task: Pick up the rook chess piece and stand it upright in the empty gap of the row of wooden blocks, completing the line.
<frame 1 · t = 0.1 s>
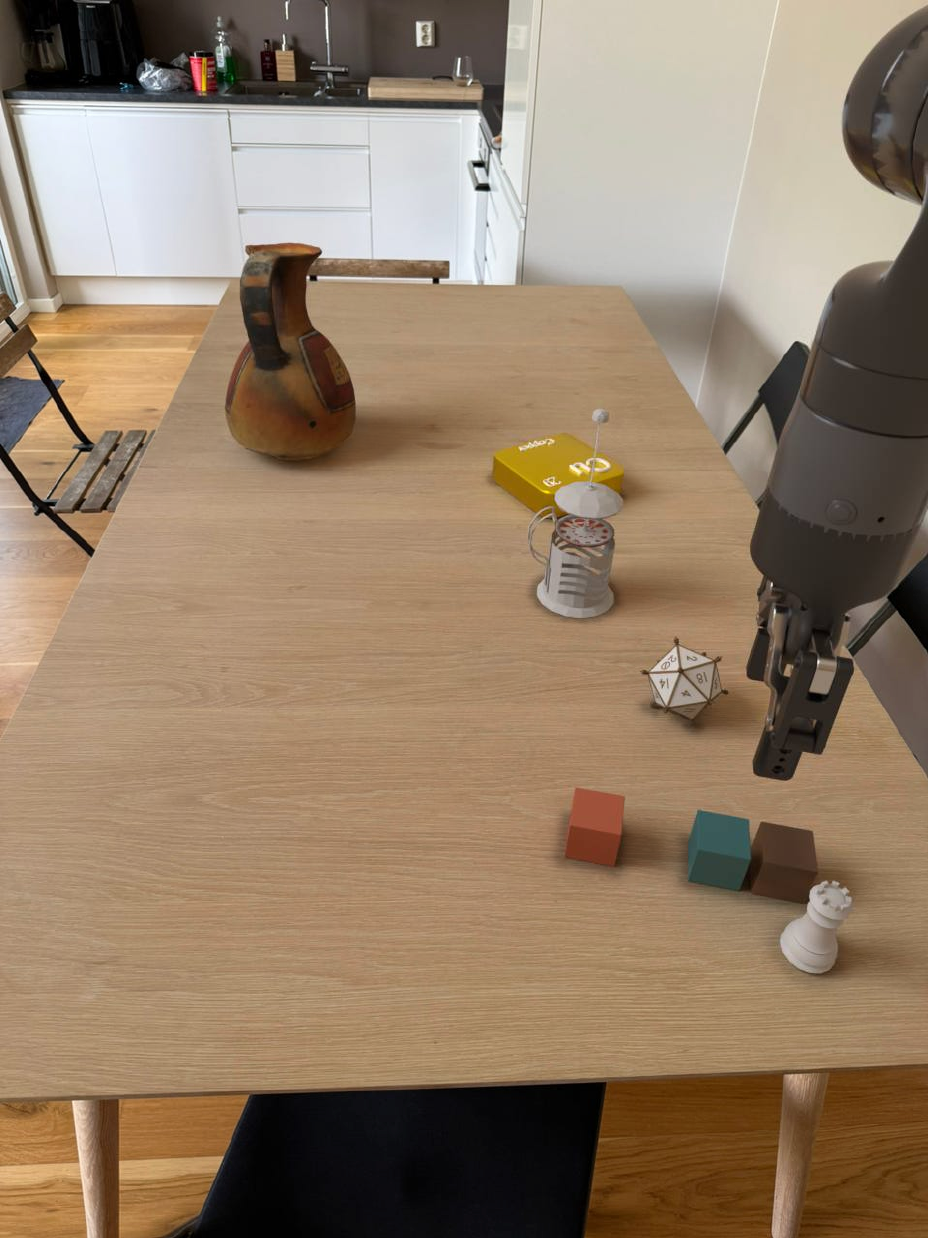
hand: (766, 723, 54), 28 cm above the table, tool pointing down, fingers open, 8 cm apart
french press: (568, 595, 112), on the table
element tile: (555, 487, 134), on the table
ceramic pitcher: (295, 445, 141), on the table
game die: (677, 711, 96), on the table
walnut block: (775, 877, 79), on the table
rook chess piece: (805, 953, 74), on the table
terracotta block: (591, 842, 82), on the table
teal block: (713, 865, 80), on the table
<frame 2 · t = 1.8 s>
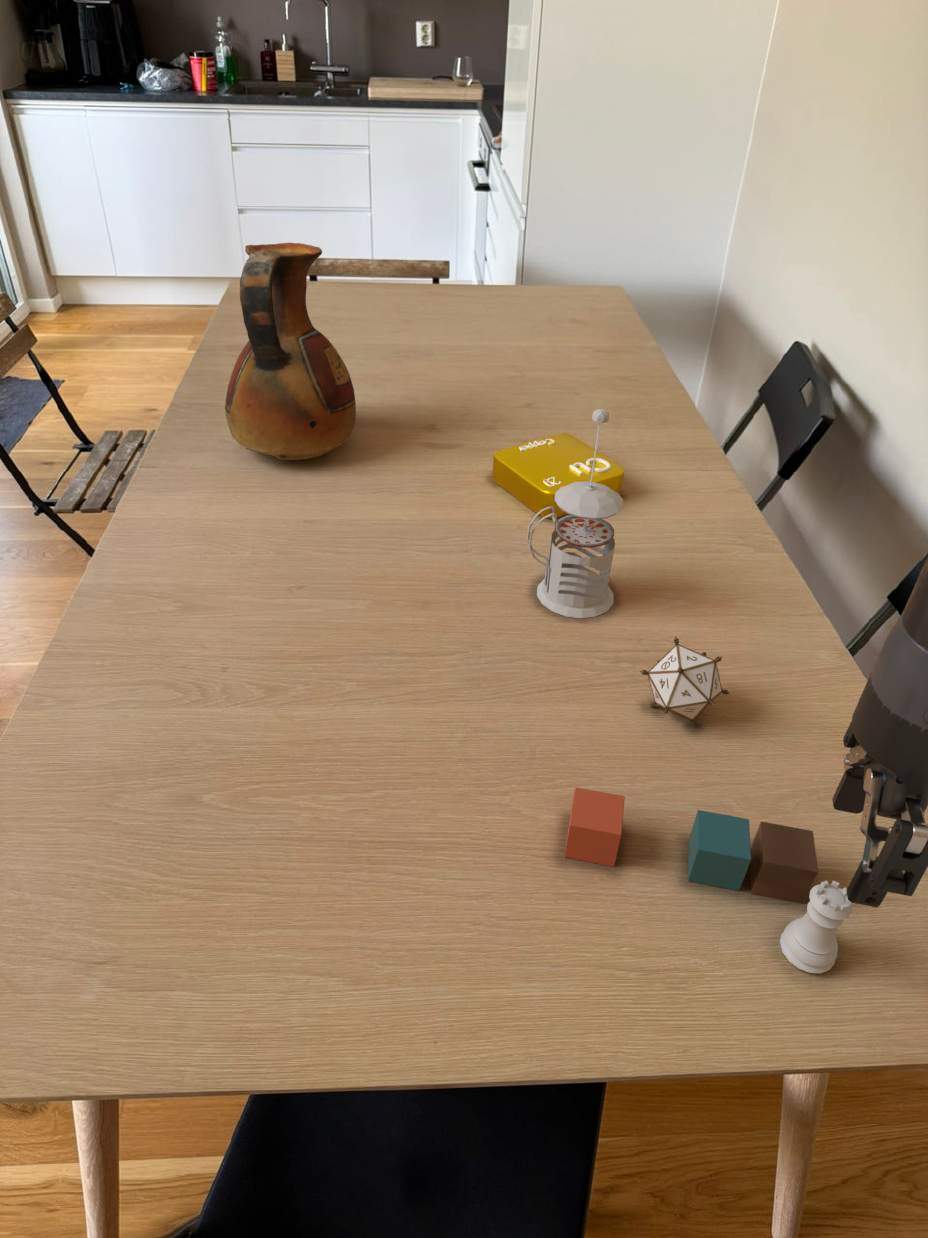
hand: (853, 852, 66), 13 cm above the table, tool pointing down, fingers open, 8 cm apart
nothing on the table moved.
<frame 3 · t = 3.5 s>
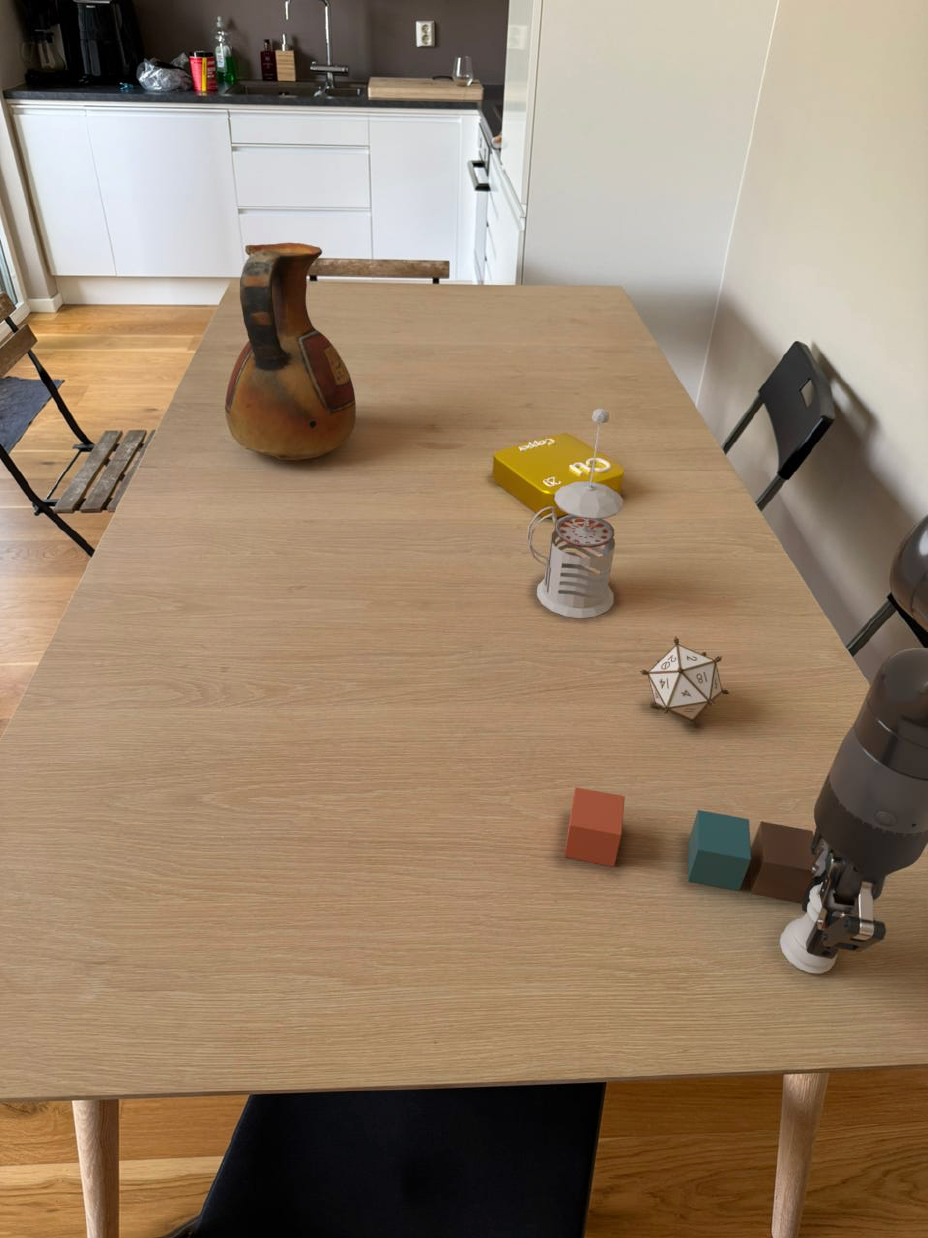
hand: (816, 929, 72), 3 cm above the table, tool pointing down, fingers closed on rook chess piece, 3 cm apart
rook chess piece: (805, 953, 74), on the table, touching gripper
everything else where it was.
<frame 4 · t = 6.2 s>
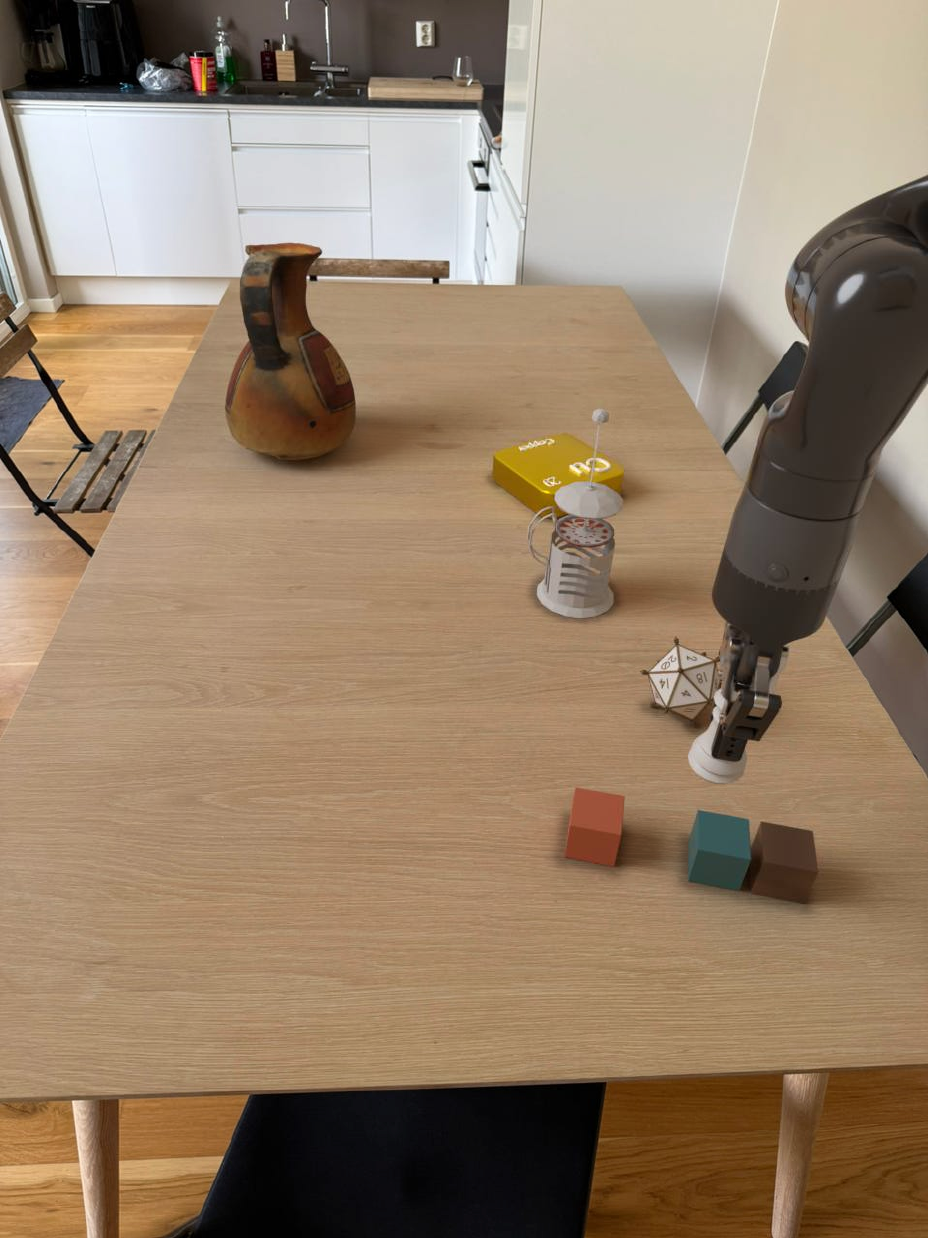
hand: (724, 738, 69), 17 cm above the table, tool pointing down, fingers closed on rook chess piece, 3 cm apart
rook chess piece: (714, 768, 71), point 14 cm above the table, touching gripper
everything else where it was.
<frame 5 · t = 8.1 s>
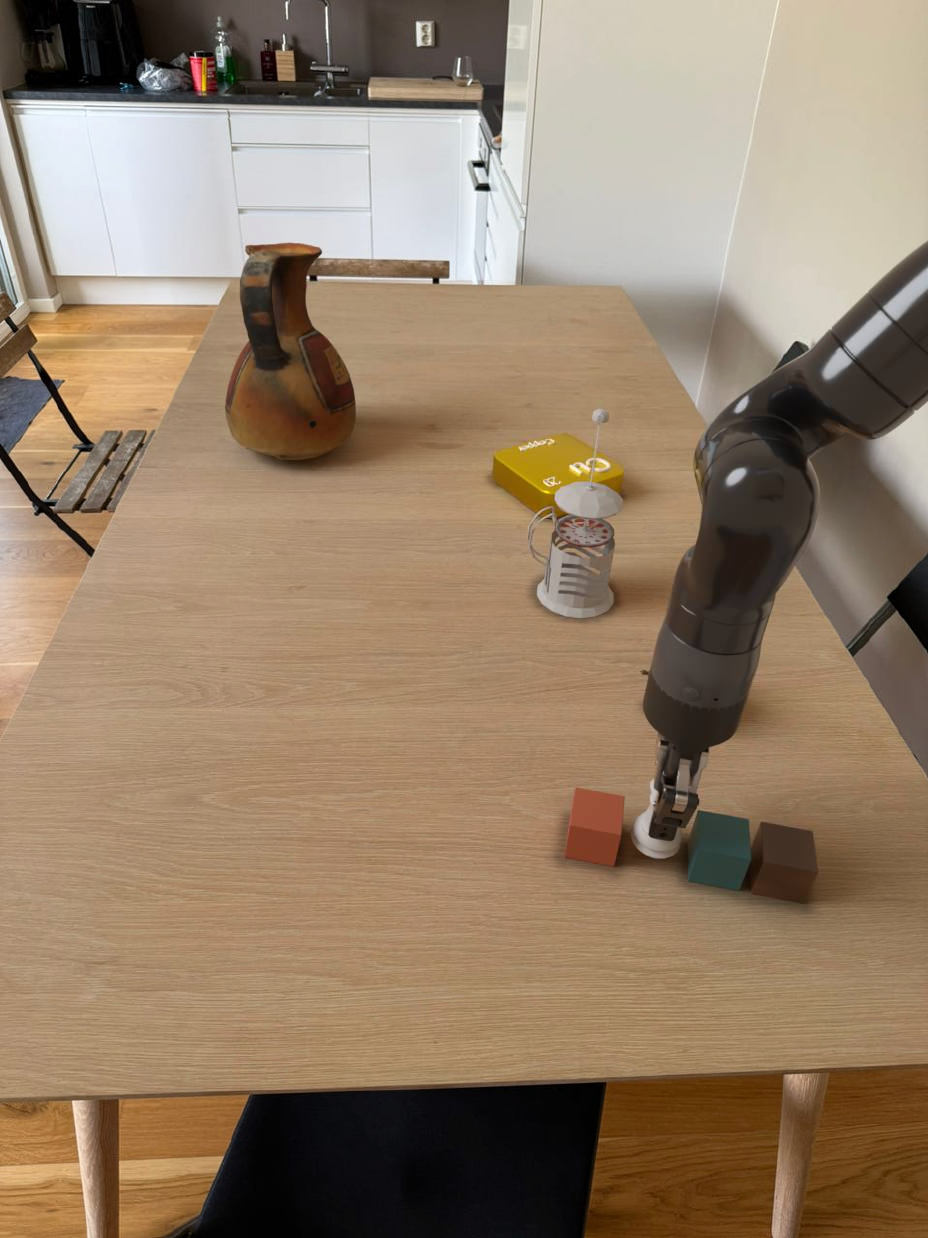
hand: (661, 818, 78), 5 cm above the table, tool pointing down, fingers closed on rook chess piece, 3 cm apart
rook chess piece: (654, 842, 80), point 2 cm above the table, touching gripper
everything else where it was.
when the fingers open (3 cm above the table, at t = 9.0 s): rook chess piece stays where it is, on the table.
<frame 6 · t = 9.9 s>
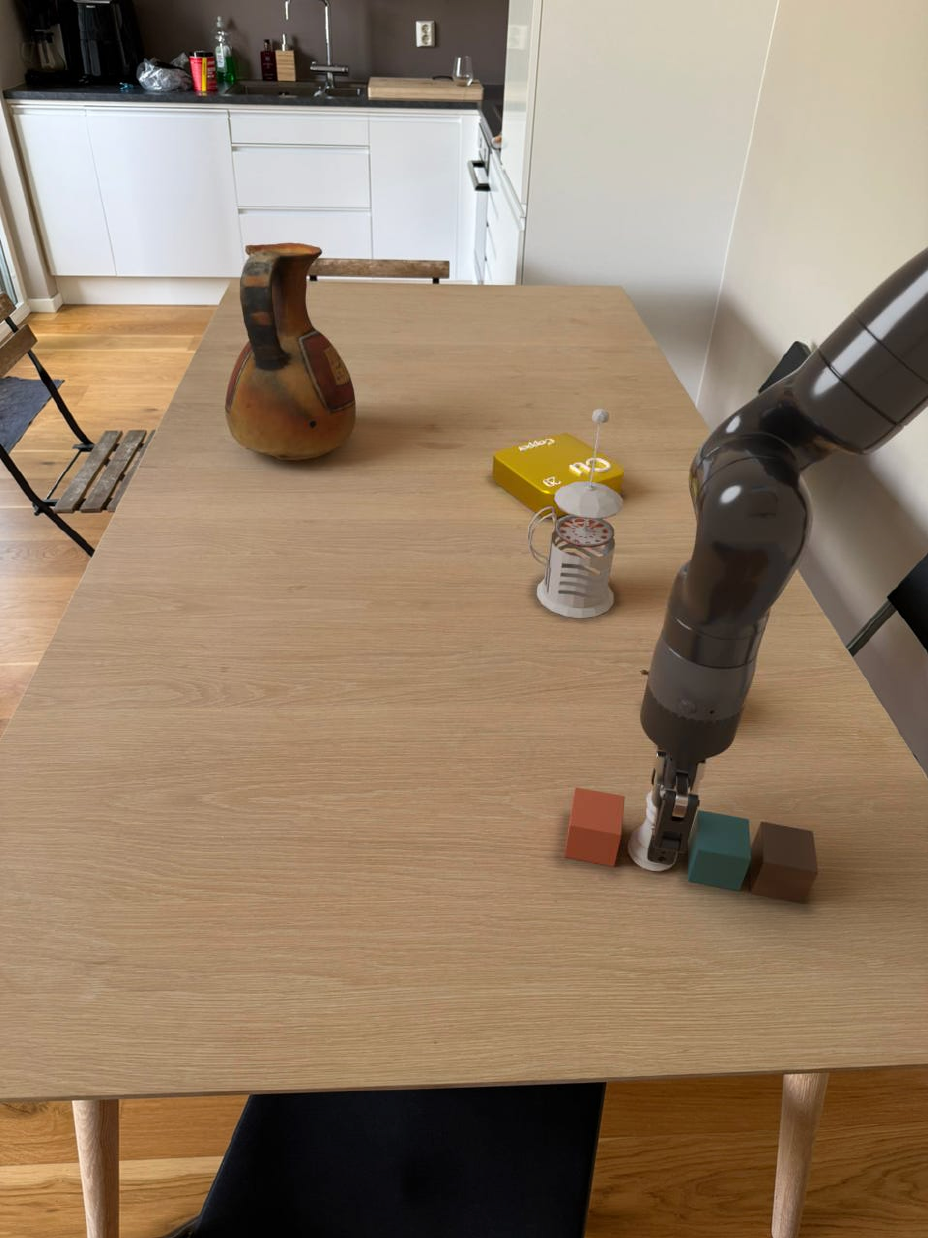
hand: (661, 820, 78), 5 cm above the table, tool pointing down, fingers open, 8 cm apart
rook chess piece: (651, 855, 81), on the table
everything else where it was.
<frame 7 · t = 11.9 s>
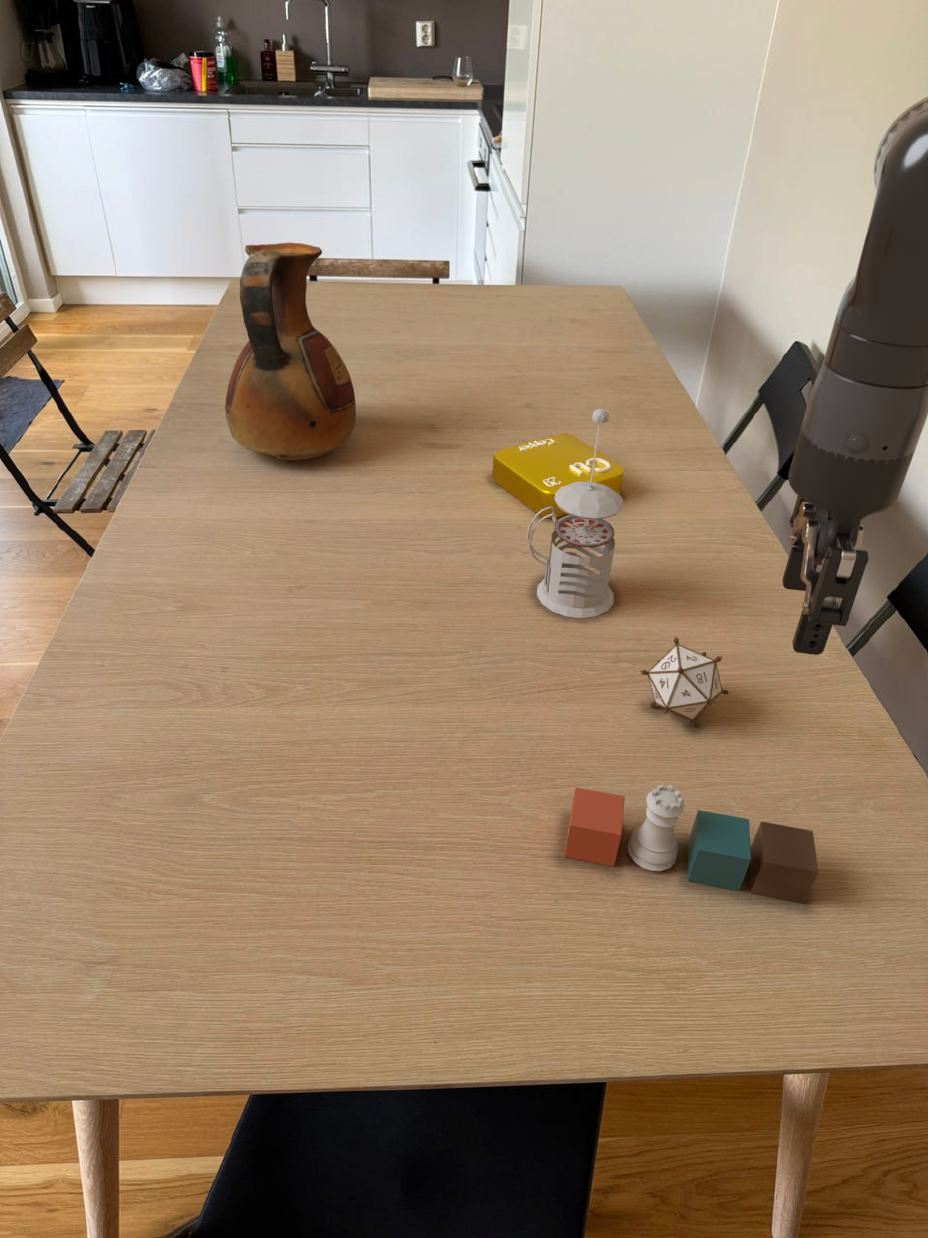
hand: (800, 617, 71), 23 cm above the table, tool pointing down, fingers open, 8 cm apart
nothing on the table moved.
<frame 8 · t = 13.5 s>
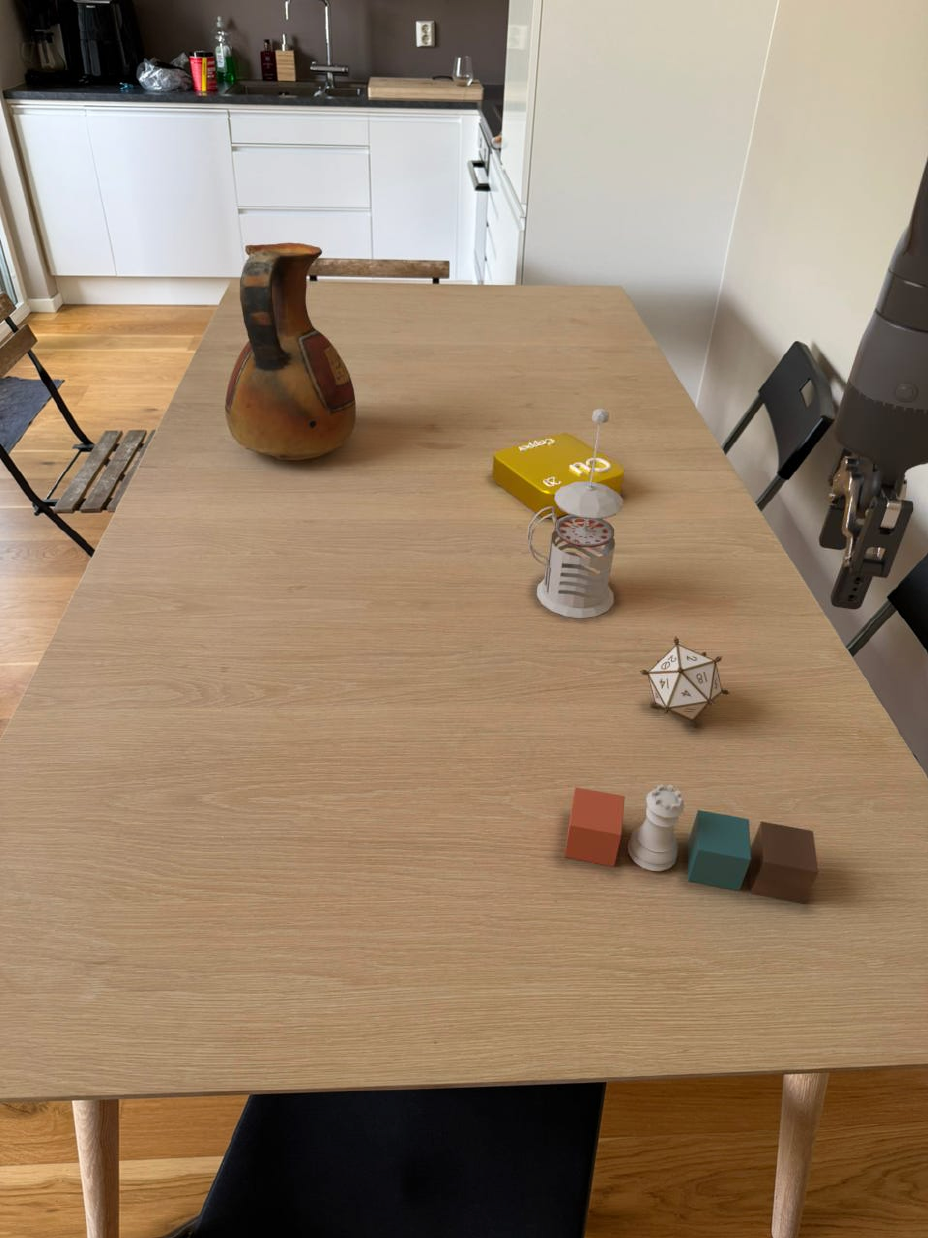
hand: (837, 574, 71), 26 cm above the table, tool pointing down, fingers open, 8 cm apart
nothing on the table moved.
at the end: rook chess piece 0.0 cm from the target spot, on the table; rook chess piece tilted 0°; terracotta block moved 0.0 cm from its start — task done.
